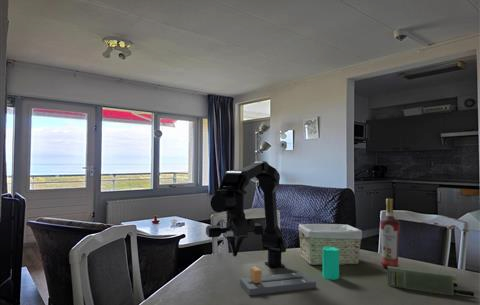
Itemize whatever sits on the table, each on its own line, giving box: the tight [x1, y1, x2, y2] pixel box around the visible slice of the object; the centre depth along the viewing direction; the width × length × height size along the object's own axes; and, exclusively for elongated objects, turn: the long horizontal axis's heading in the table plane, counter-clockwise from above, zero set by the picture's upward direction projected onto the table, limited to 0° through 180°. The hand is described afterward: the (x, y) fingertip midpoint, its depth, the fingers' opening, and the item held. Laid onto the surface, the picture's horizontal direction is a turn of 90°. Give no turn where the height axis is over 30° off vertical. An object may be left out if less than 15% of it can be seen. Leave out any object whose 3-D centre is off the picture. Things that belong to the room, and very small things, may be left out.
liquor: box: [379, 198, 401, 270], centre depth 131 cm, size 7×7×28 cm
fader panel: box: [239, 271, 317, 296], centre depth 109 cm, size 10×24×2 cm, turn 107°
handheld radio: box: [387, 266, 475, 297], centre depth 107 cm, size 7×3×25 cm
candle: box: [321, 247, 340, 280], centre depth 119 cm, size 6×6×12 cm
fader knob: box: [249, 265, 262, 283], centre depth 107 cm, size 4×2×4 cm, turn 17°
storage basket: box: [298, 223, 363, 266], centre depth 140 cm, size 24×16×15 cm
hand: (234, 256), depth 105 cm, fingers closed
